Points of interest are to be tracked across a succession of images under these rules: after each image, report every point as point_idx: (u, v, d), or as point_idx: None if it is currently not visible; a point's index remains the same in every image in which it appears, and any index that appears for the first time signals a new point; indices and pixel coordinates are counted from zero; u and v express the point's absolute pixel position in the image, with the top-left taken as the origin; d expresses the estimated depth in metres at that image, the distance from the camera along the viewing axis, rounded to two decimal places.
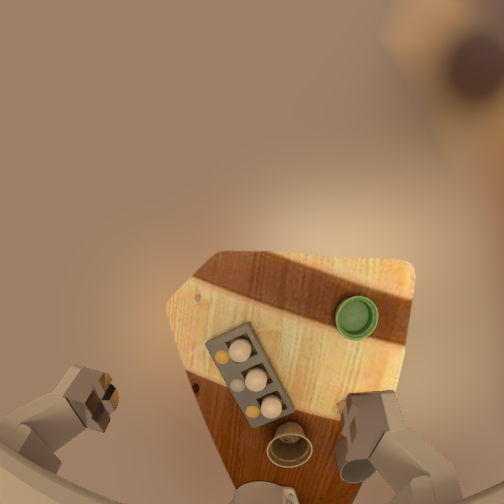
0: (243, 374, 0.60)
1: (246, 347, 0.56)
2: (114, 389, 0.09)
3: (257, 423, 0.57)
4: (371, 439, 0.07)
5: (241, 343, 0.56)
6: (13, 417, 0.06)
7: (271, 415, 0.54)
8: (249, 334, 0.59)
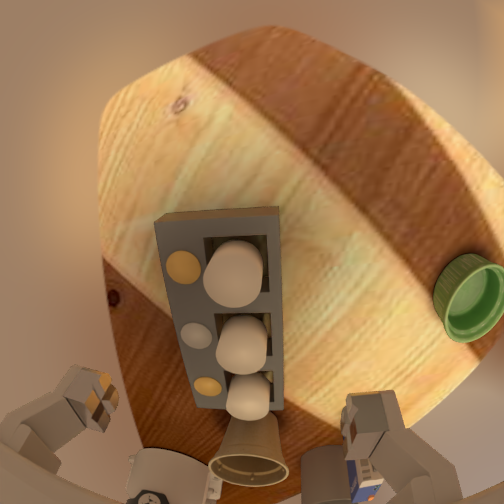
0: (217, 316, 0.27)
1: (256, 279, 0.21)
2: (114, 389, 0.09)
3: (208, 404, 0.31)
4: (371, 439, 0.07)
5: (246, 264, 0.21)
6: (13, 417, 0.06)
7: (242, 415, 0.27)
8: (271, 241, 0.23)
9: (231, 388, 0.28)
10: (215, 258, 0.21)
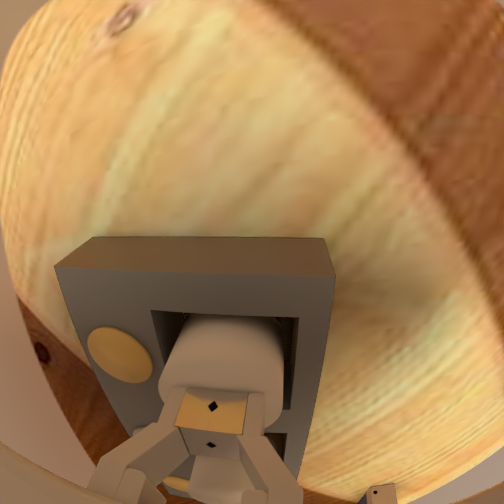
0: None
1: (271, 403, 0.09)
2: None
3: (185, 495, 0.18)
4: (227, 440, 0.07)
5: (253, 378, 0.08)
6: (112, 461, 0.06)
7: None
8: (309, 331, 0.10)
9: None
10: (181, 358, 0.09)
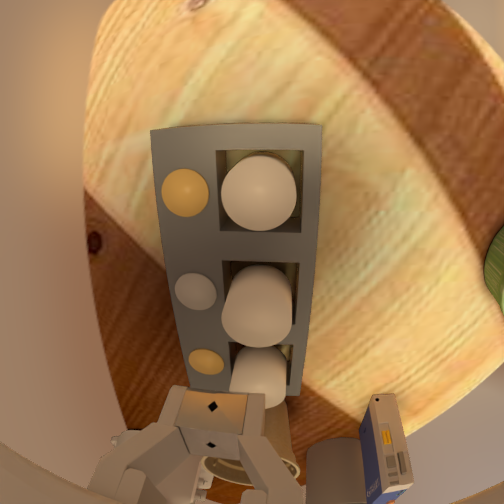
0: (225, 266, 0.21)
1: (290, 193, 0.16)
2: None
3: (205, 384, 0.25)
4: (227, 440, 0.07)
5: (279, 171, 0.16)
6: (112, 461, 0.06)
7: None
8: (310, 160, 0.16)
9: (237, 365, 0.22)
10: (239, 162, 0.16)
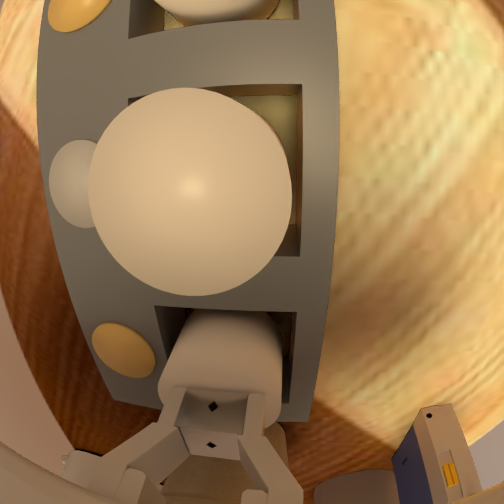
0: None
1: None
2: None
3: (133, 395, 0.13)
4: (227, 440, 0.07)
5: None
6: (112, 461, 0.06)
7: None
8: None
9: (177, 343, 0.10)
10: None
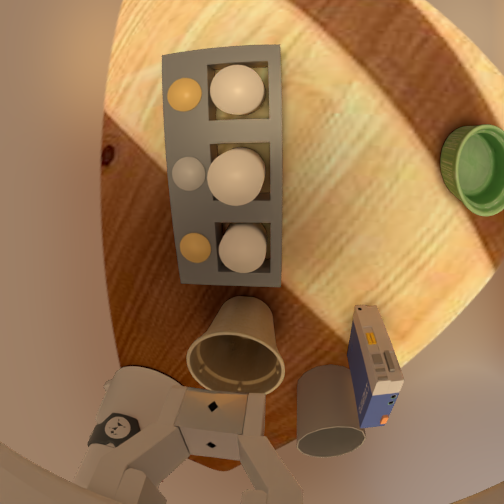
0: (213, 154, 0.25)
1: (258, 86, 0.21)
2: None
3: (194, 277, 0.29)
4: (227, 440, 0.07)
5: (250, 72, 0.20)
6: (112, 461, 0.06)
7: (236, 264, 0.27)
8: (272, 67, 0.21)
9: (226, 231, 0.28)
10: (223, 69, 0.21)
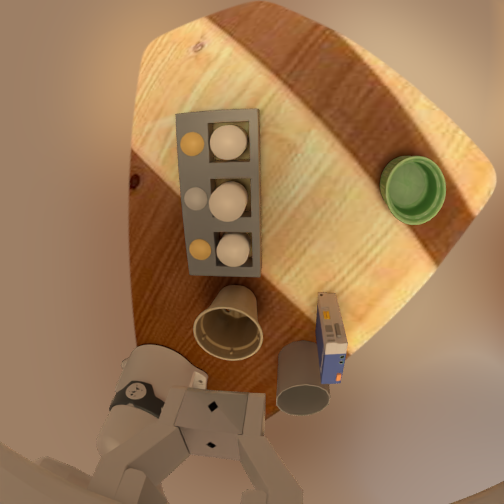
0: (212, 185, 0.38)
1: (242, 140, 0.33)
2: None
3: (199, 270, 0.42)
4: (227, 440, 0.07)
5: (237, 130, 0.33)
6: (112, 461, 0.06)
7: (228, 261, 0.40)
8: (252, 125, 0.33)
9: (221, 238, 0.40)
10: None
